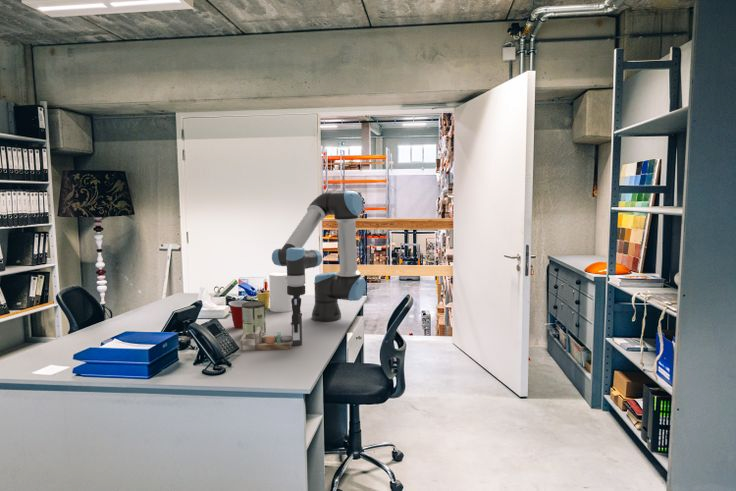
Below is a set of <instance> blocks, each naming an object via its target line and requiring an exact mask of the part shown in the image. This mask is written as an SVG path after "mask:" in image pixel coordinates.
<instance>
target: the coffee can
mask: <svg viewBox="0 0 736 491" xmlns="http://www.w3.org/2000/svg"><path fill="white" fill-rule="evenodd" d="M242 316H243V328H242V333H243V334H244V333H255V332H256V330H257V328H258V327H261V332H262V337H264V336H265V335H266V334H267V331H266V330H267V329H266V328H267V327H266V302H264V301H259V300H254V301H248V302H245V303H243V304H242ZM243 334H242V335H243Z"/></svg>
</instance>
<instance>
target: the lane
mask: <svg viewBox="0 0 736 491" xmlns="http://www.w3.org/2000/svg"><path fill="white" fill-rule="evenodd" d="M268 336H269V335H268ZM268 336H262V332H261V327H258V328H257V330H256V332H255V333H244V334H242V336H241V339H240V340H239V346H240V347H239V350H240V351H254V350H255V351H265V350H266V351H267V350H268V351H269V350H273V351H274V350H290V349H291V345H292V344H291V343H290V342H292V340H284V341H283V343H282V342H281V343H280V344H277V335H275V336H274V335H272V336H273V337H274V338H275V343H274V344H267V343H266V338H267V337H268ZM281 337H292V335H281ZM286 342H287V343H286ZM262 343H263V344H262Z"/></svg>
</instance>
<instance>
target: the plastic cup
mask: <svg viewBox="0 0 736 491" xmlns="http://www.w3.org/2000/svg"><path fill="white" fill-rule="evenodd" d="M245 302H249V301H246V300H231V301H229V302H228V305H229V309H230V313H231V318H232V322H233V326H234V329H238V330H239V329H243V316H242V304H243V303H245Z"/></svg>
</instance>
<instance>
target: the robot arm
mask: <svg viewBox="0 0 736 491" xmlns="http://www.w3.org/2000/svg"><path fill="white" fill-rule="evenodd" d="M363 208H364V205H363V199H362V197H361V195H360V194H359V193H358V192H357V191H353V190H334V191H333V190H329V191H324V192H323V193H321V194H319V195H318V196H317V197H316V198H315V199H313V201H311V203H310V204H309V205H308V207H307V208H306V213H305V214H304V216H303V217H302V219H301V220H300V222H299V223H298V224H297V225H296V228H295V229H294V231H293V232H292V234H291V235H290V236H289V237H288V239H287V240H286V242H285V243H284V244H283V246H282V247H281V248H276V249H274V250H273V252H272V254H271V261H272V262H273V265H275V266H278V267H286V272H287V277H286V278H285V279H288V280H287V284H288V286H287V294H288V295H292V296H293V298H292V299H291V303H292V315H293V322H292V321H291V323H290V325H291V326H292V325H293V340H300V330H299V314H302V315H303V313H302V310H301V306H302V298H301V296H304V295H305V294H306V285H305V284H306V270H308V269H311V268H313V269H314V268H316V267H318V266H320V265H321V264H322V262H323V256H322V255H323V254H322V253H321V252H320V251H319V250H318V249H310V250H307V249H306V250H305V248H304V246H305V244H306V243H307V242H308V240H309V238H311V236H312V234H313V232H314V231H315V230H316V228H317V227H318V225H319V223H320V222H321V221H323V220H325V218H326V217H328V216H334V221H336V223H337V234H338V237H337V238H338V252H339V254H338V255H339V271H338V272H336V271H334V272H325V273H319V274H316V275H315V277H314V283H313V284H314V304H313V308H312V312H311V319H312V320H314V321H316V322H317V321H318V322H330V321H331V322H333V321H337V320H341V318H342V312H341V309H340V306H339V302H338V300H343V301H349V302H352V301H359V300H361V298H362V297H363V296H364V294H365V291H366V286H367V283H366V280H365V278H364V277H362V276H361V272H360V271H359V270H358V256H357V255H358V253H357V230H356V227H357V226H356V223H357V221H358V220H359V216H360V215H361V214H362V212H363Z"/></svg>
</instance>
